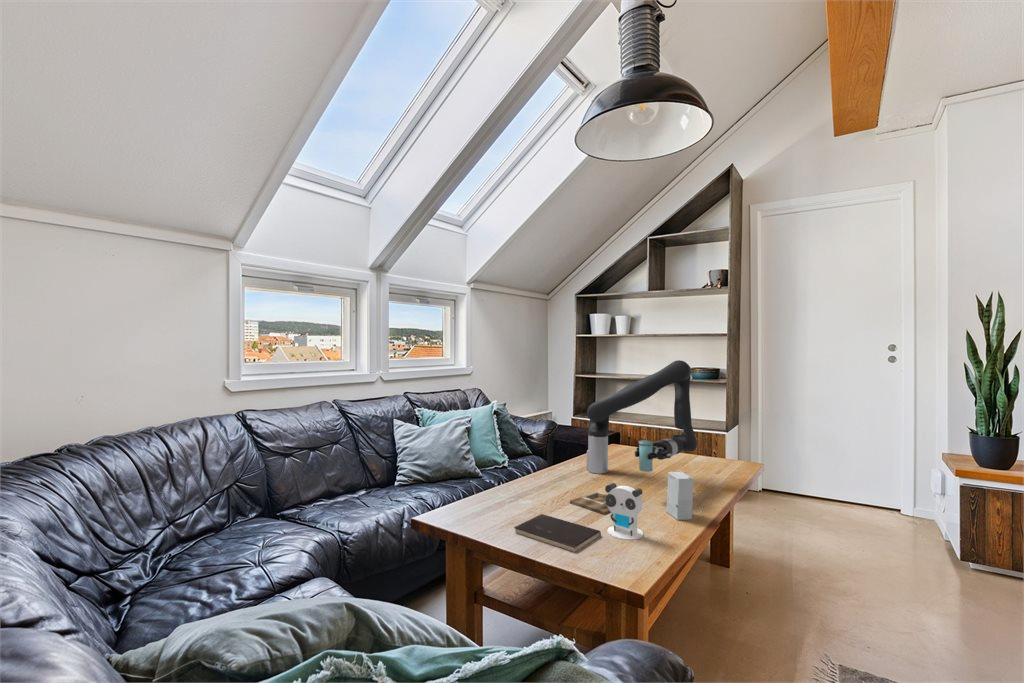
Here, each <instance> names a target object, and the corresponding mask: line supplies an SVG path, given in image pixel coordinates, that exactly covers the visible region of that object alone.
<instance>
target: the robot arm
mask: <svg viewBox="0 0 1024 683" xmlns="http://www.w3.org/2000/svg"><path fill="white" fill-rule="evenodd" d="M691 376H692V368H691V366H690V364H688V363H687V362H686V361H684V360H682V359H677V360H674V361H672V362H670V363H668V365H667V366H665V367H663V368H662V369H660V370H659V371H656V372H655V373H653V374H650V375H648V376H645V377H642V378H640V379H638V380H636V381H634V382H632V383H630V384H628V385H626V386H625V387H623V388H621V389H620V390H618V391H617V392H615V393H614V394H612V395H611V396H609V397H607V398H605V399H602V400H597V401H594V402H593V403H590V405H589V406H588V408H587V410H586V415H587V418H588V420H589V426H588V433H587V435H588V441H587V442H588V446H587V448H588V449H587V450H586V471H588V472H589V473H592V474H597V475H599V474H602V475H603V474H607V473H608V472H609V430H610V416H611V415H614V413H617V412H619V411H621V410H623V409H627V408H630V407H632V406H634V405H637V404H639V403H641V402H643V401H645V400H647V399H649V398H650V397H652V396H654V395H655V394H656V393H657V392H659V391H660V390H662V389H663V388H665V387H667V386H670V385H671V384H673V386H674V387H673V388H674V404H673V405H674V407H673V416H674V428H676V429H678V430H682V431H683V432H684V434H674V435H672V436H671V437H670V438H663V439H660V440H656V441H653V445H652V453H649V454H648V460H651V459H652V460H653V459H655V460H659V461H661V460H662V461H663V460H665V459H671V458H672V457H673V456H676V455H678V454H680V453H681V452H694V451H695V450H696V449H697V446H698V440H697V437H696V434H695V431H694V428H693V425H692V412H691V410H692V409H691V400H690V399H691V398H690V397H691V396H690V385H691ZM634 457H636V458H638V457H639V446H638V447H636V451H634Z"/></svg>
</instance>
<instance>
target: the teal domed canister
mask: <svg viewBox="0 0 1024 683" xmlns="http://www.w3.org/2000/svg"><path fill="white" fill-rule="evenodd" d="M653 443H654V441H652V440H647V439H646V440H643V439H642V440H638V445H639V446H638V447H639V458H638V461H639V462H638V465H639V467H638V471H641V472H649V473H650V472H652V471H653V459H651V460H648V454H649V453H652V445H653Z"/></svg>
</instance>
